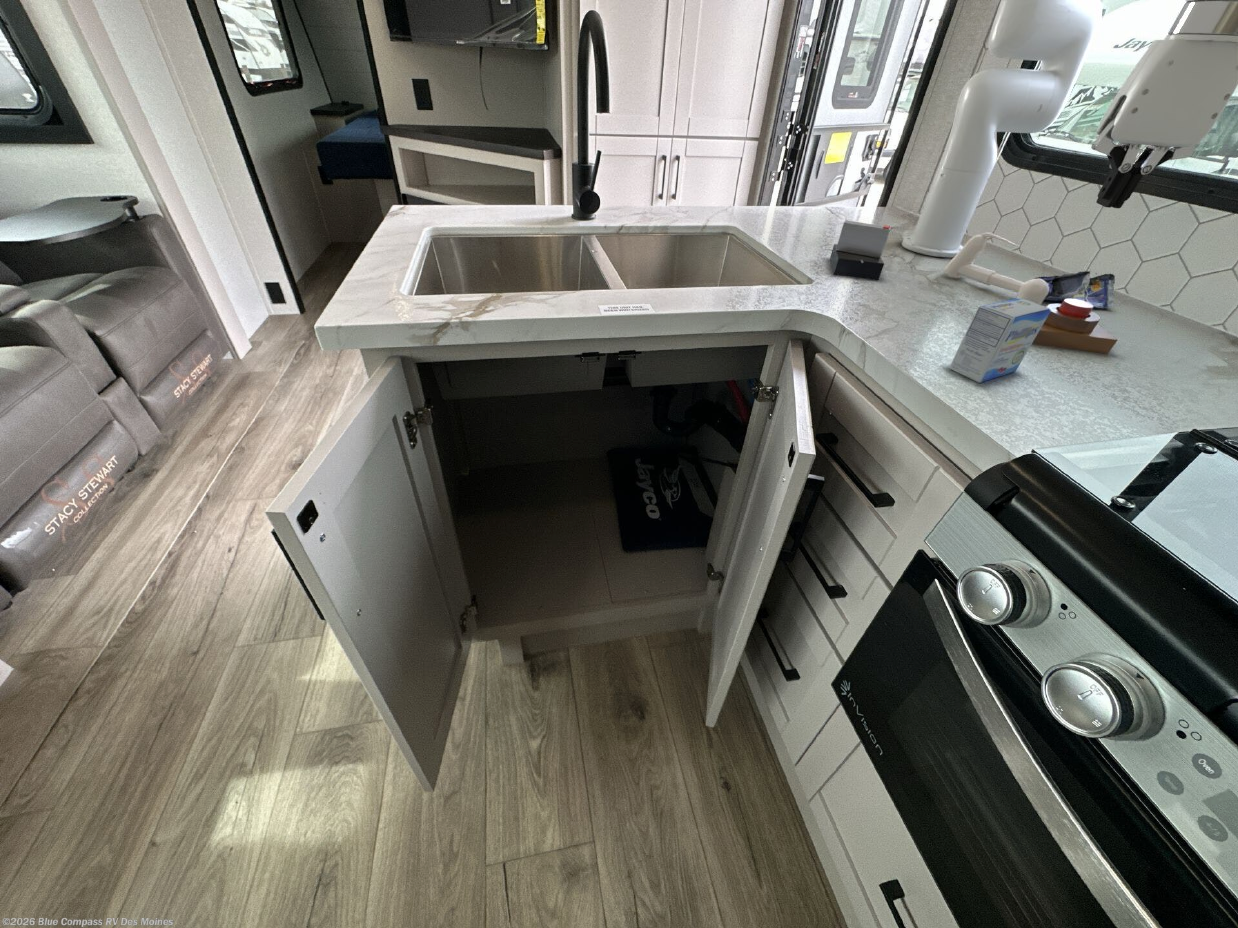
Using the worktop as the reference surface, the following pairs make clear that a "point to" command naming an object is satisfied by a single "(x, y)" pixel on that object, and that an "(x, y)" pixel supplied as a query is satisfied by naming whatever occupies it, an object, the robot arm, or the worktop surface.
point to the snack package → (1082, 288)
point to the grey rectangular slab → (863, 238)
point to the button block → (1074, 332)
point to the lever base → (855, 265)
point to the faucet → (964, 267)
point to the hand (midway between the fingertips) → (1107, 205)
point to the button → (1075, 308)
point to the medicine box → (998, 339)
